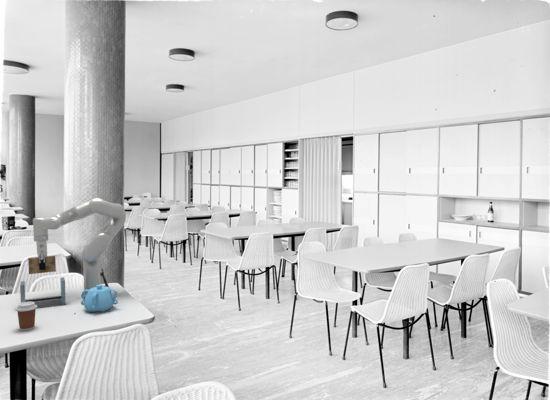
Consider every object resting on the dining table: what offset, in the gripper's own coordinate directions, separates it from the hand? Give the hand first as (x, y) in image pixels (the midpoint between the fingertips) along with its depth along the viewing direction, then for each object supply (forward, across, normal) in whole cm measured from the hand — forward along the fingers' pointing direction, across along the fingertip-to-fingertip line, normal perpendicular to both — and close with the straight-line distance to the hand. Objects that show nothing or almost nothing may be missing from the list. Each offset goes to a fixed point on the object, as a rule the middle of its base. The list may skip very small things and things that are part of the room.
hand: (42, 268), depth 262 cm
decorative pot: (+19, -36, -27) cm, 49 cm away
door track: (+18, -14, 0) cm, 23 cm away
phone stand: (+19, +13, -34) cm, 41 cm away
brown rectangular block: (+2, 0, 0) cm, 2 cm away
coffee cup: (+19, -51, +8) cm, 55 cm away
